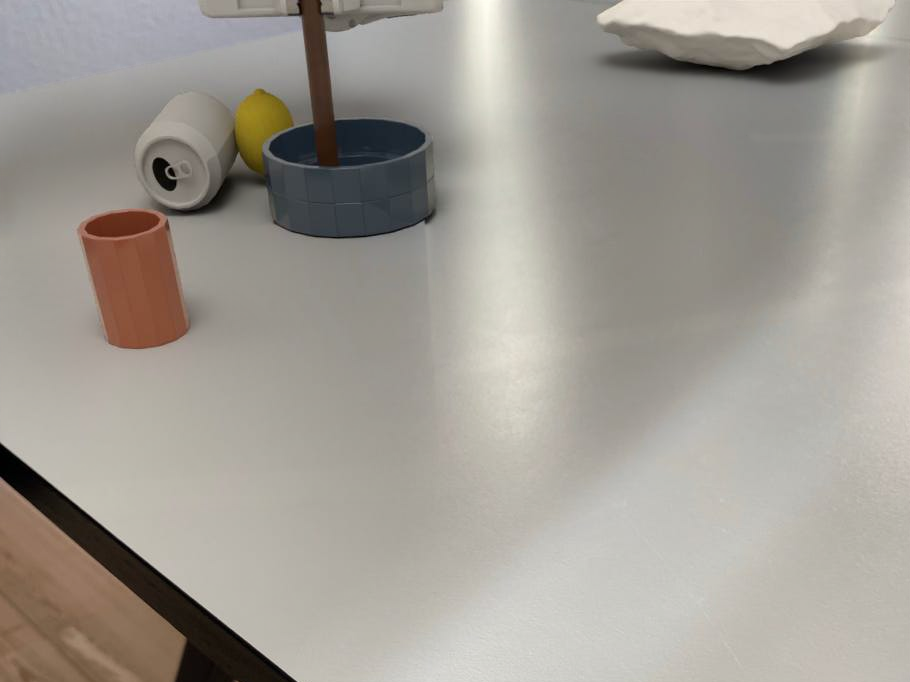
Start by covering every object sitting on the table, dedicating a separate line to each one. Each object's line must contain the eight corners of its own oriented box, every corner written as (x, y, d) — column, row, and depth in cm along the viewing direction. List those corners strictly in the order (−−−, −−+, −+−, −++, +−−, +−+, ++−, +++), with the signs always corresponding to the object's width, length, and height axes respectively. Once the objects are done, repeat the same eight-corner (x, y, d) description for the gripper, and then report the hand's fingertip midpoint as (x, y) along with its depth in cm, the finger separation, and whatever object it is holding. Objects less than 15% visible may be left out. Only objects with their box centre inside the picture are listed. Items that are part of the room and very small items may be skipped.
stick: (320, 195, 96) (289, -80, 83) (321, 188, 97) (290, -83, 85) (341, 194, 96) (313, -81, 83) (342, 187, 97) (314, -84, 85)
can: (147, 102, 103) (112, 142, 94) (221, 78, 102) (193, 115, 93) (183, 183, 108) (154, 228, 99) (255, 160, 106) (231, 203, 97)
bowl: (266, 248, 92) (254, 172, 88) (279, 190, 103) (269, 121, 99) (438, 239, 92) (434, 163, 88) (434, 183, 103) (430, 113, 99)
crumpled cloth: (931, 70, 122) (946, -27, 118) (612, 81, 121) (615, -16, 117) (859, 56, 142) (870, -28, 138) (585, 65, 142) (587, -18, 137)
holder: (99, 357, 77) (68, 242, 72) (115, 321, 82) (87, 210, 76) (184, 353, 77) (159, 237, 72) (195, 317, 82) (173, 206, 77)
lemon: (236, 177, 106) (221, 86, 101) (292, 168, 108) (280, 77, 102) (251, 194, 102) (236, 100, 97) (309, 184, 104) (298, 91, 99)
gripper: (207, -68, 96) (168, -40, 85) (445, -74, 95) (436, -47, 84) (220, 15, 100) (185, 52, 89) (449, 9, 99) (440, 45, 88)
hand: (309, 4), depth 87 cm, fingers closed on stick, 2 cm apart
